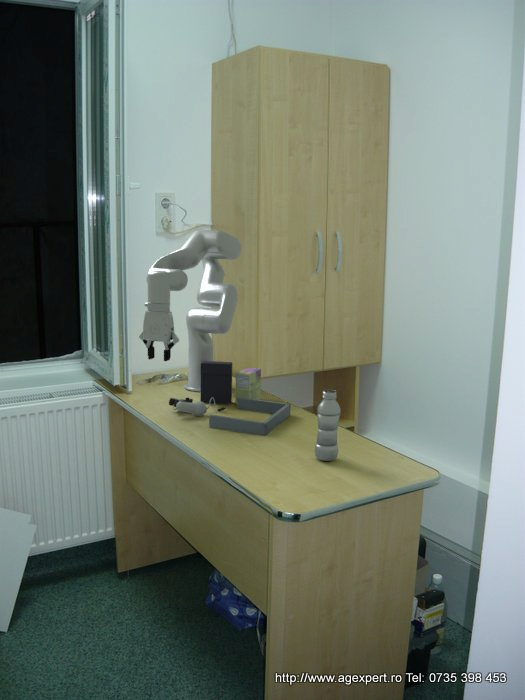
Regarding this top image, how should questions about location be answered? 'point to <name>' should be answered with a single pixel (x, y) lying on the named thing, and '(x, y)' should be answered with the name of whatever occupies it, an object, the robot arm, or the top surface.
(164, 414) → the top surface
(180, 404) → the clip-on lamp
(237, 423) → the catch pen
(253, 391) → the box
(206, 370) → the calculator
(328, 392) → the plastic bottle
